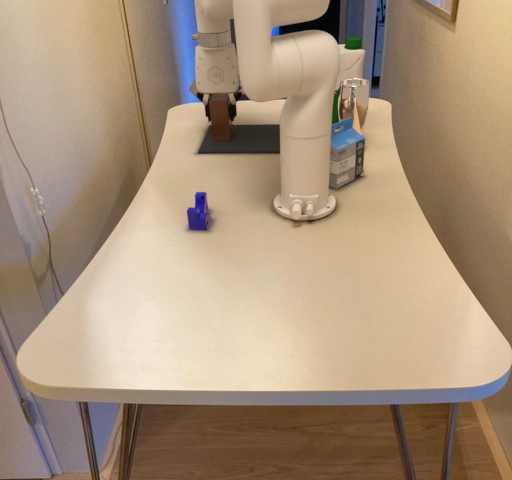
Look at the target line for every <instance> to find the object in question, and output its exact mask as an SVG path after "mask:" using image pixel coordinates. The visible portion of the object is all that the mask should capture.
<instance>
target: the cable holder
mask: <svg viewBox="0 0 512 480" xmlns="http://www.w3.org/2000/svg"><path fill="white" fill-rule="evenodd" d="M208 205H209V204H208V194H207V192H206V191H196V192H195V194H194V207H188V208H187V210H186V215H187V222H188V228H189V231H208V229H209V227H210V224H211V223H212V213H211V212H210V213H209V206H208Z"/></svg>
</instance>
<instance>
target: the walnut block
mask: <svg viewBox="0 0 512 480" xmlns="http://www.w3.org/2000/svg"><path fill="white" fill-rule="evenodd" d="M209 99H210V100H209V107H210V117H211V122H210V125H211V127H212V138H213V142H230V140H231V137H232V135H233V125H234V124H233V121H230V110H229V105H230V98H229V95H228V93H225V94H211V95H210V98H209Z"/></svg>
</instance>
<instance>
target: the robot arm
mask: <svg viewBox="0 0 512 480" xmlns="http://www.w3.org/2000/svg"><path fill="white" fill-rule="evenodd" d="M193 1H194V11H195V20H196V30H197V31H196V32H195V33H191V40H192V41H195V42H197V45H196V46H195V50H194V72H195V78H194V80H193V81H192V83H191V85H190V87H189V88H188V91H189V92H190V93H191V94H192V95H194V96H196V98H197V99H198V100H199V101H200V102H201V103H202V105H204V114H205V117H206V118H207V121H208V122H210V123H211V117H210V107H209V100H210V98H211V95H212V94H225V93H228V95H229V98H230V105H229V110H230V121H232V122H235V118H236V117H237V116H238V111H237V103H238V101H240V99H241V98H242V96H244V95H245V96H246V97H247V98H248V99H249V100H251V101H253V102H255V103H267V102H272V101H278V100H281V99H285V101H284V104H283V106H282V109H281V112H280V117H279V124H280V153H279V161H280V162H279V165H280V167H279V168H280V193H278V194H277V195H276V196H275V197H274V199H273V202H272V204H273V209H274V211H275V212H276V213H277V214H278V215H280V216H281V217H284V218H286V219H290V220H295V221H315V220H318V219H319V220H320V219H323V218H326V217H327V216H329V215H330V214H332V213H333V212H334V211H335V209H336V208H337V207H336V206H337V204H336V203H337V200H336V197H335V196H334V195H333V194H332V193H331V192H330V191H329V190H330V186H329V171H330V148H331V127H332V109H333V99H334V93H335V88H336V83H337V79H338V75H339V69H340V60H341V58H340V50H339V46H338V45H339V43H338V42H337V40H336V38H335V37H334V36H333V35H331V33H328V32H327V31H324V30H320V29H309V30H302V31H295V32H289V33H284V34H280V35H275V36H274V35H273V36H272V33H273V32H272V31H273V29H274V28H277V27H282V26H288V25H294V24H301V23H305V22H310V21H314V20H316V19H319V18H320V17H322V16H323V15H324V14H325V13H326V12H327V10H328V8H329V5H330V1H331V0H193ZM231 20H233V23H234V34H235V35H234V37H235V43H233V42H232V34H231V33H232V32H231ZM235 44H236V45H235ZM239 87H240V89H239Z"/></svg>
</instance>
